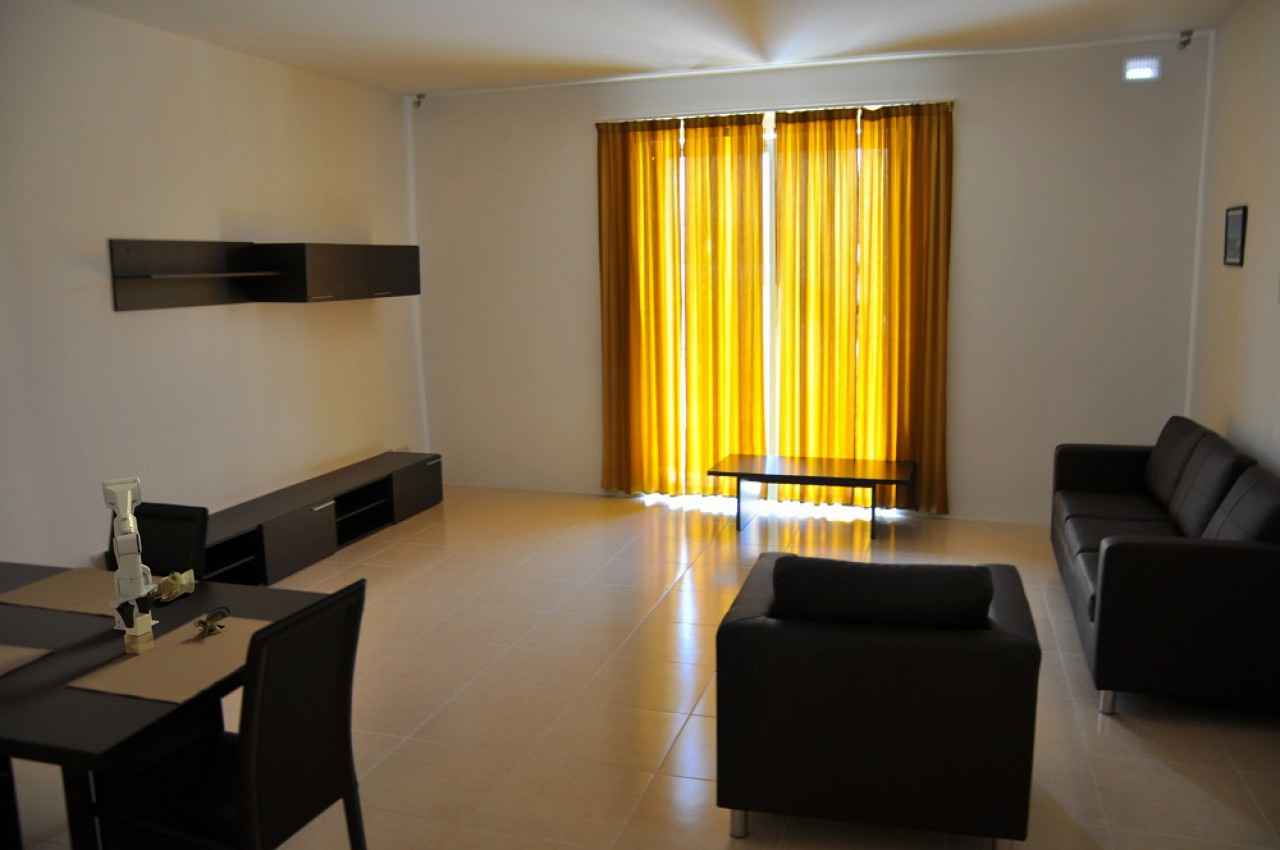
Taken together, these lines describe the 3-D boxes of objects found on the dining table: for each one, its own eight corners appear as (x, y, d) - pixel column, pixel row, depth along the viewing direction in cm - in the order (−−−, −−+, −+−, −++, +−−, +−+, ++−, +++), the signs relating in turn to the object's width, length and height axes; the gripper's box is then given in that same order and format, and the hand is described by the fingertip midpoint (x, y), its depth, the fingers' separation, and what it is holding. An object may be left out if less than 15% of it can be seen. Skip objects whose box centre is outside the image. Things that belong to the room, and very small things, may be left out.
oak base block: (126, 652, 286) (124, 635, 285) (140, 646, 291) (138, 628, 290) (140, 654, 285) (138, 637, 284) (154, 647, 289) (152, 630, 288)
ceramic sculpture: (201, 566, 332) (158, 583, 320) (206, 592, 334) (163, 609, 322) (181, 562, 338) (138, 578, 326) (186, 587, 340) (143, 604, 328)
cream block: (126, 634, 285) (124, 618, 285) (139, 628, 289) (137, 612, 289) (138, 635, 284) (137, 620, 283) (151, 629, 288) (150, 614, 287)
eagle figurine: (224, 633, 294) (238, 615, 303) (205, 614, 293) (220, 596, 302) (203, 647, 297) (218, 629, 306) (185, 628, 295) (200, 610, 304)
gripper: (121, 586, 276) (127, 635, 278) (163, 569, 289) (168, 616, 292) (100, 584, 278) (107, 632, 281) (143, 567, 292) (149, 614, 294)
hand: (137, 624), depth 286 cm, fingers closed on cream block, 4 cm apart
